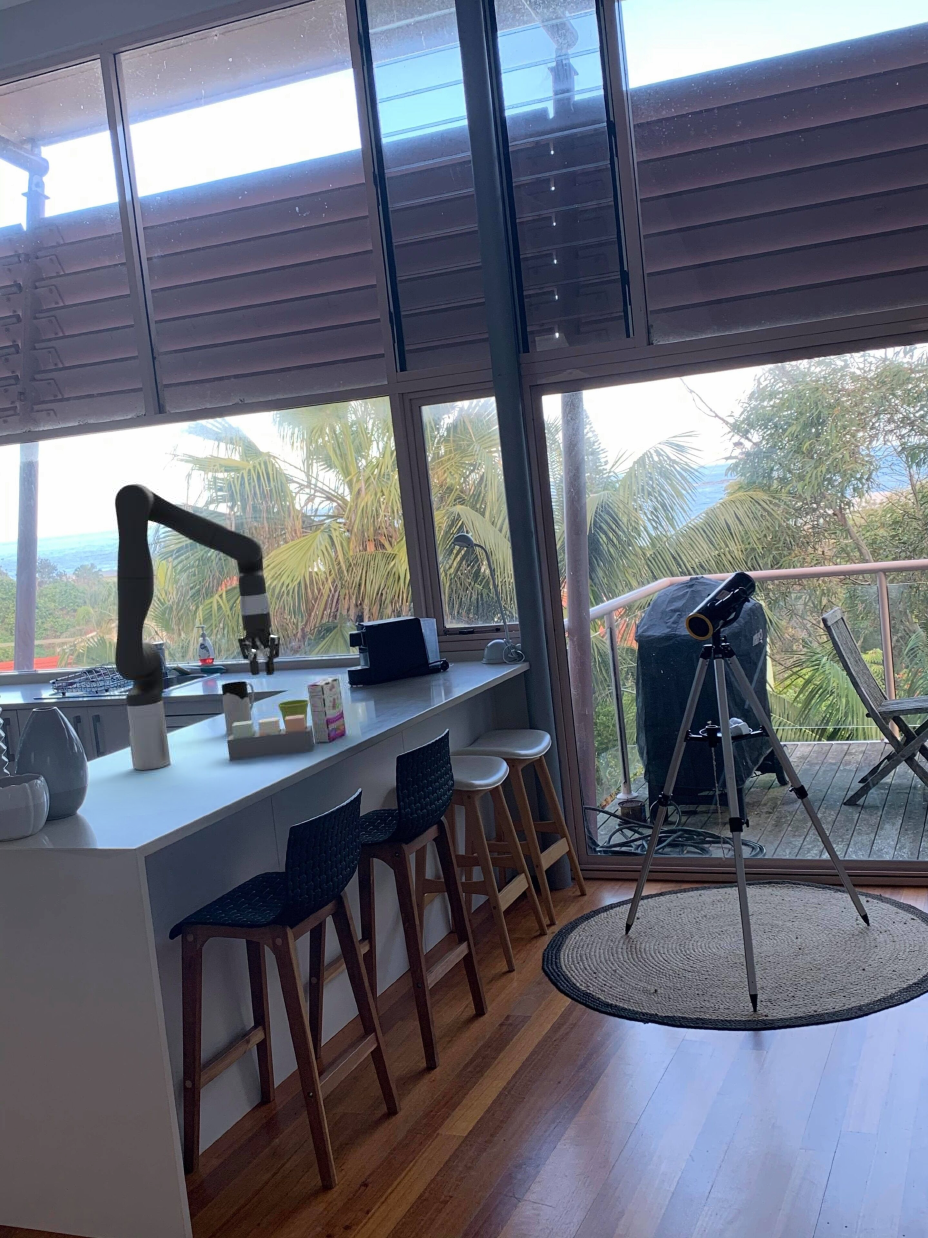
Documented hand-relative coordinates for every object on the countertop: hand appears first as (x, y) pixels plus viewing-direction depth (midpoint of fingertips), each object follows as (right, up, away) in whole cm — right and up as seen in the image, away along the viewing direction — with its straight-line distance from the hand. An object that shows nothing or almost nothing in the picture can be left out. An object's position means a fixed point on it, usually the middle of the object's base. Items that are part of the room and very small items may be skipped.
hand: (263, 674), depth 306 cm
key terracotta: (+9, -16, +2) cm, 19 cm away
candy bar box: (+16, -19, +14) cm, 29 cm away
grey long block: (+2, -21, +2) cm, 21 cm away
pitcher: (-13, -19, +44) cm, 50 cm away
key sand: (+2, -17, +2) cm, 17 cm away
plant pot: (+4, -18, +32) cm, 37 cm away
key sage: (-5, -18, +1) cm, 19 cm away
